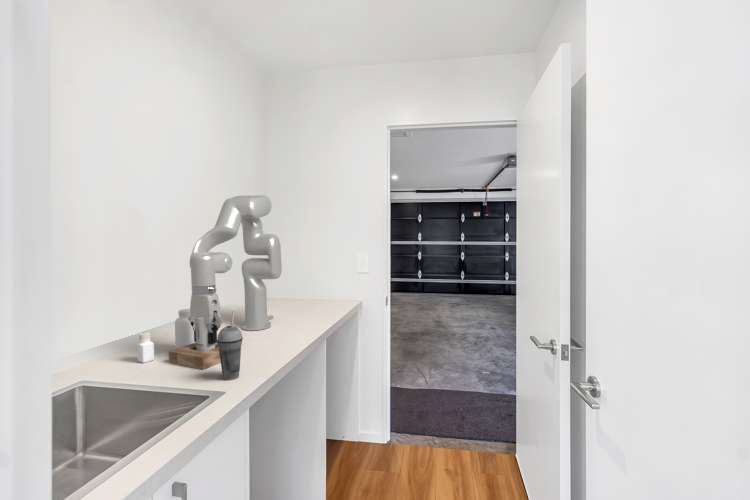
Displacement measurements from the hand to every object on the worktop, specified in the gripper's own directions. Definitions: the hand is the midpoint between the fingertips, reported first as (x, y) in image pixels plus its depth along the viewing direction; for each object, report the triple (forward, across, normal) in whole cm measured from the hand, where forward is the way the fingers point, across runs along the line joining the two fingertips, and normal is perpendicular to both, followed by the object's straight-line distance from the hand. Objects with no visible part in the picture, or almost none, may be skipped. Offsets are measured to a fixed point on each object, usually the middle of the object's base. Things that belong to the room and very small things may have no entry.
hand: (205, 341), depth 131 cm
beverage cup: (+6, -21, +9) cm, 24 cm away
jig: (+6, 0, 0) cm, 6 cm away
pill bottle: (+6, +14, -4) cm, 16 cm away
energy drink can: (+5, 0, 0) cm, 5 cm away
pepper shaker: (+6, +17, +10) cm, 21 cm away
